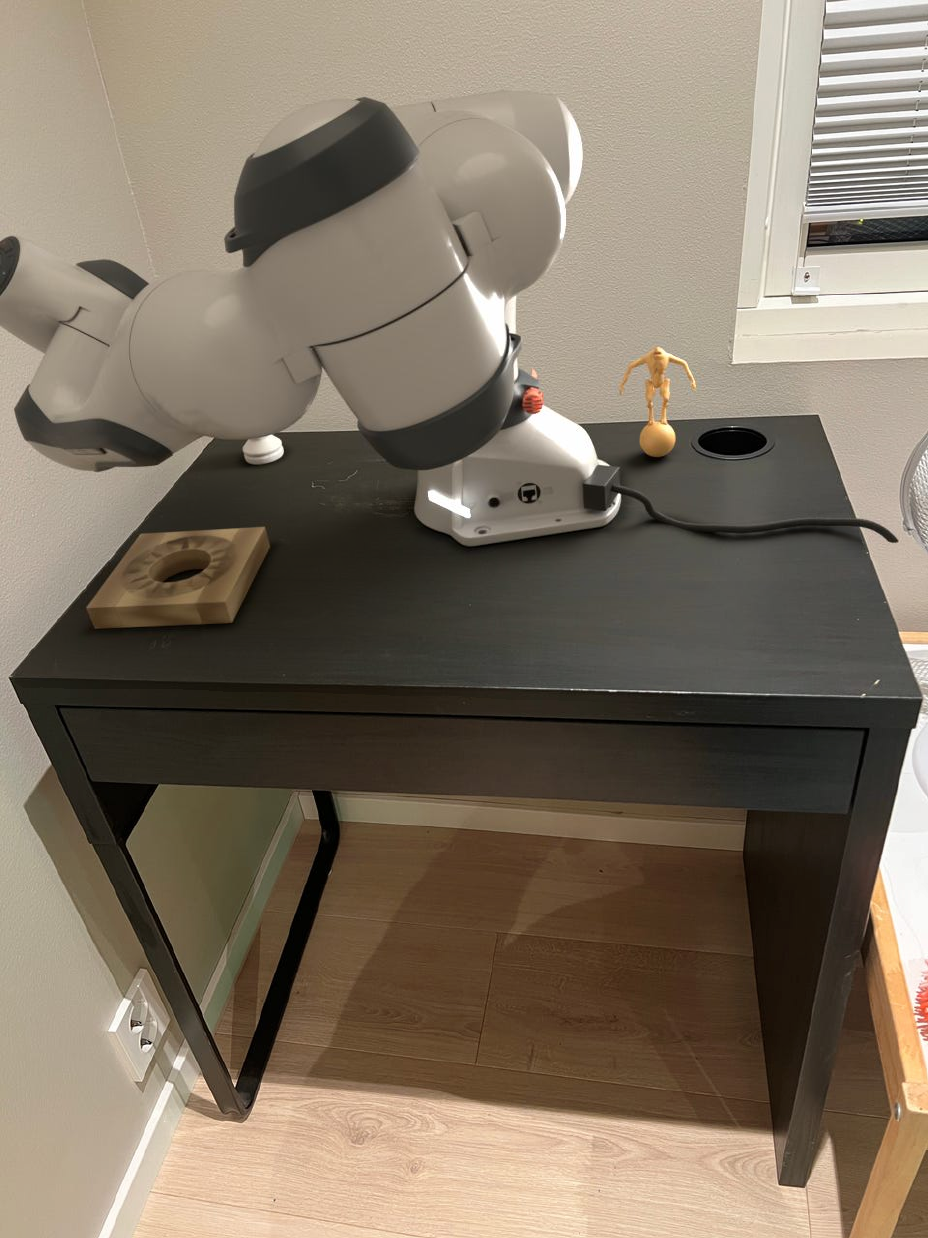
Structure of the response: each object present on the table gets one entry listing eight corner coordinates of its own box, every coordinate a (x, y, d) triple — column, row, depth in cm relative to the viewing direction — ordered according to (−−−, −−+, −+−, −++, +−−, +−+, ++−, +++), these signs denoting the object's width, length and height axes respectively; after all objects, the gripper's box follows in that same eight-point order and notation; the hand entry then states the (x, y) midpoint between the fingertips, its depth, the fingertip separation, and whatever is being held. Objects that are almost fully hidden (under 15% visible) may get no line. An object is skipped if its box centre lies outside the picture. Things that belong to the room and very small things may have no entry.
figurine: (620, 464, 105) (618, 361, 98) (621, 441, 110) (619, 342, 103) (695, 461, 104) (698, 357, 97) (693, 438, 108) (696, 337, 101)
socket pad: (270, 546, 99) (265, 526, 98) (232, 623, 88) (225, 601, 86) (147, 553, 101) (140, 533, 100) (94, 629, 90) (85, 608, 88)
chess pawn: (242, 467, 117) (223, 399, 111) (249, 450, 121) (231, 384, 116) (281, 462, 116) (264, 394, 111) (286, 445, 120) (270, 379, 115)
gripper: (47, 370, 100) (139, 418, 113) (188, 383, 91) (271, 434, 104) (63, 315, 101) (153, 369, 113) (205, 323, 92) (286, 381, 104)
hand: (210, 400), depth 108 cm, fingers open, 8 cm apart
